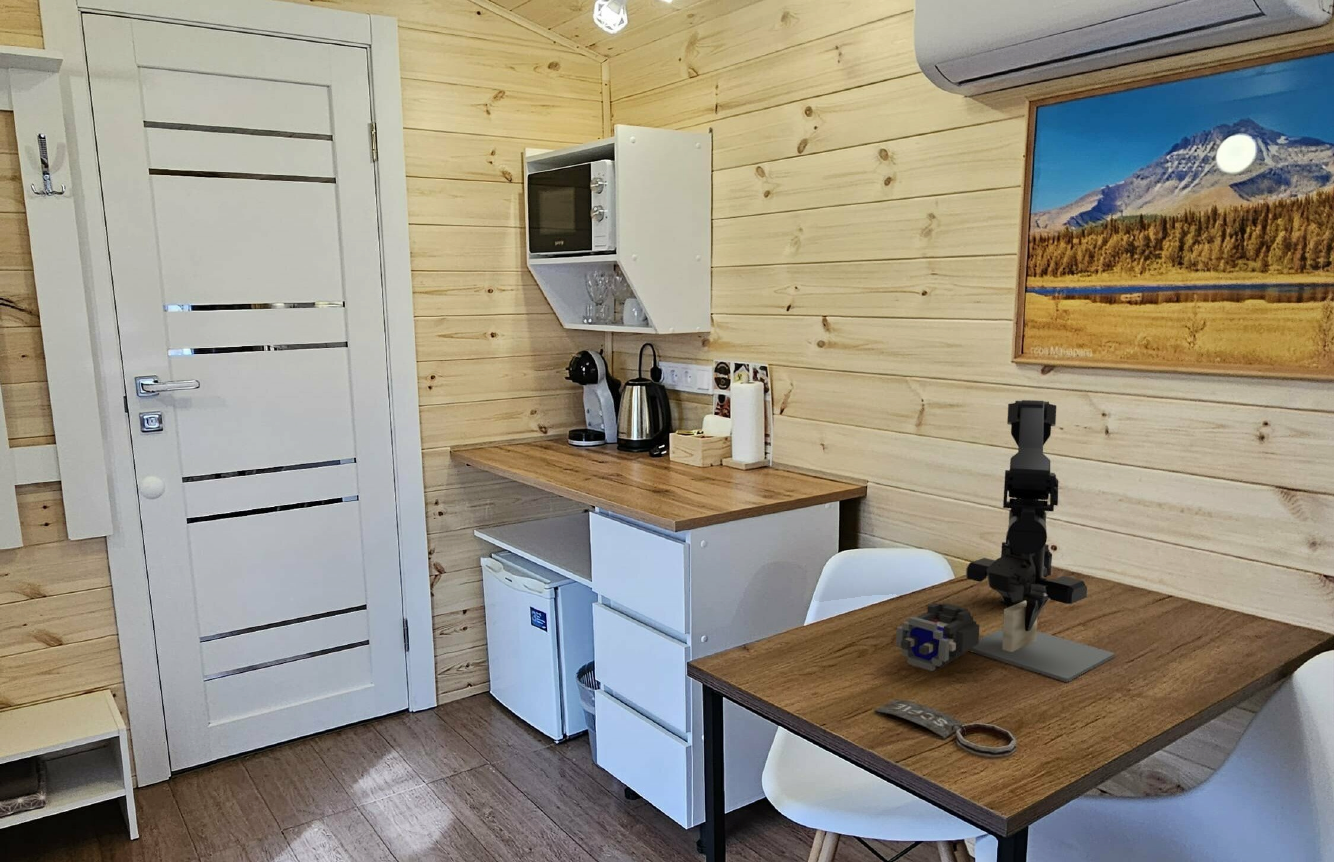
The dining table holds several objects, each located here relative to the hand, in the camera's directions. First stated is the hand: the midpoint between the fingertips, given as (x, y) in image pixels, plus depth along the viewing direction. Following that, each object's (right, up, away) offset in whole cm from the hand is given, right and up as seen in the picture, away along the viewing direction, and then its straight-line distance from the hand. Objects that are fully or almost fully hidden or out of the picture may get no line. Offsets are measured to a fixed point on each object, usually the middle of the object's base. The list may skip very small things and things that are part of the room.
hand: (1021, 628), depth 149 cm
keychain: (-22, -8, -29) cm, 37 cm away
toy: (-16, -5, -6) cm, 18 cm away
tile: (0, -3, 0) cm, 3 cm away
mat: (+2, -4, -2) cm, 4 cm away
